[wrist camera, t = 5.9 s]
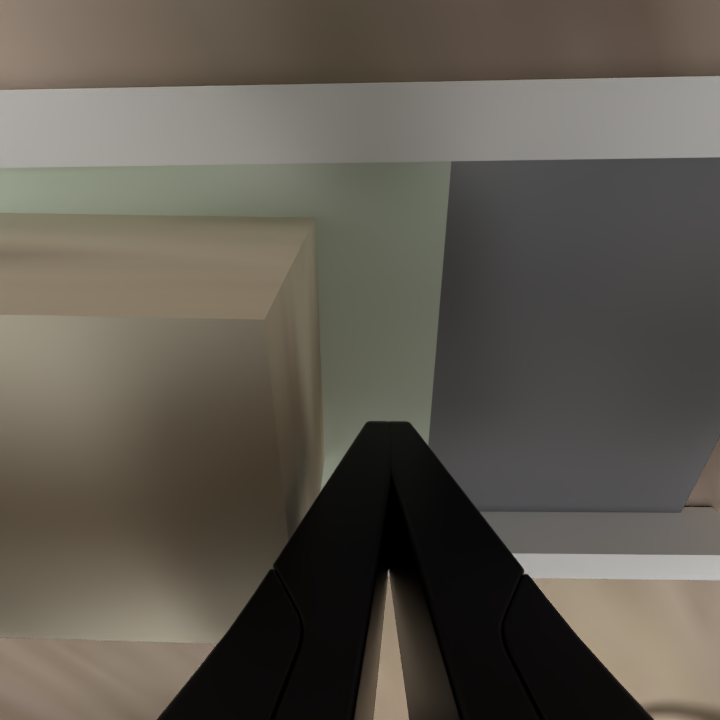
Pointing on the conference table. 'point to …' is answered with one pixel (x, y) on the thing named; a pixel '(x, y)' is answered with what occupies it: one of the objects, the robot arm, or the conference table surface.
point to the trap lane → (463, 275)
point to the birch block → (152, 419)
